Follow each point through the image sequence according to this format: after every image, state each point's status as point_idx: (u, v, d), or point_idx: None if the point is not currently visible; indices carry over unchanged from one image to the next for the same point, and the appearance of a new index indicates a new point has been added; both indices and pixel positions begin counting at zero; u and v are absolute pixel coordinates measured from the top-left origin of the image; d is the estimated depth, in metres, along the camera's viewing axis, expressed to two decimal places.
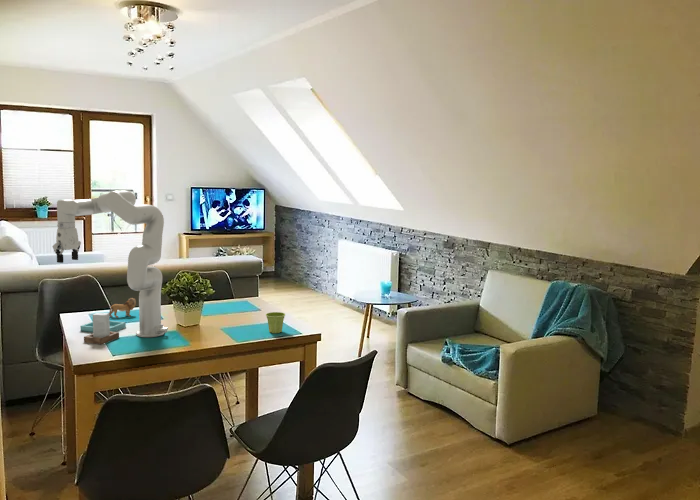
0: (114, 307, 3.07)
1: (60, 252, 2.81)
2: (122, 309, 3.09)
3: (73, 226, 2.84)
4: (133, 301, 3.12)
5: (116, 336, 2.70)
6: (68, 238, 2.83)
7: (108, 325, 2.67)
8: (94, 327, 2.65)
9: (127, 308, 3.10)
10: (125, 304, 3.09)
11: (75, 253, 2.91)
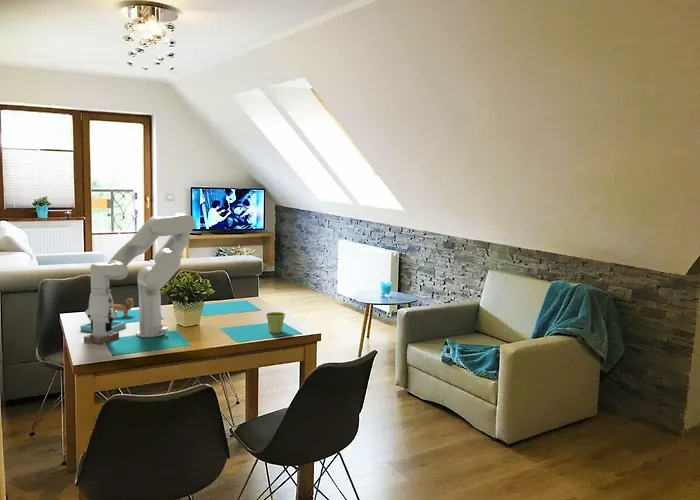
0: None
1: (112, 319, 2.66)
2: (120, 309, 3.08)
3: None
4: (131, 301, 3.11)
5: (116, 336, 2.70)
6: None
7: None
8: (94, 327, 2.65)
9: (125, 308, 3.09)
10: (123, 304, 3.09)
11: None
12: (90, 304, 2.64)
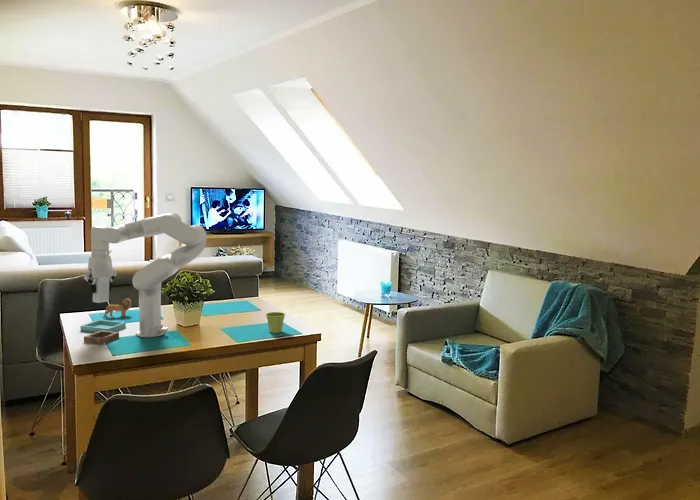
0: (110, 307, 3.06)
1: None
2: (118, 309, 3.08)
3: None
4: (129, 301, 3.11)
5: (116, 336, 2.70)
6: None
7: None
8: (100, 289, 2.73)
9: (123, 308, 3.09)
10: (121, 304, 3.08)
11: None
12: (96, 267, 2.70)
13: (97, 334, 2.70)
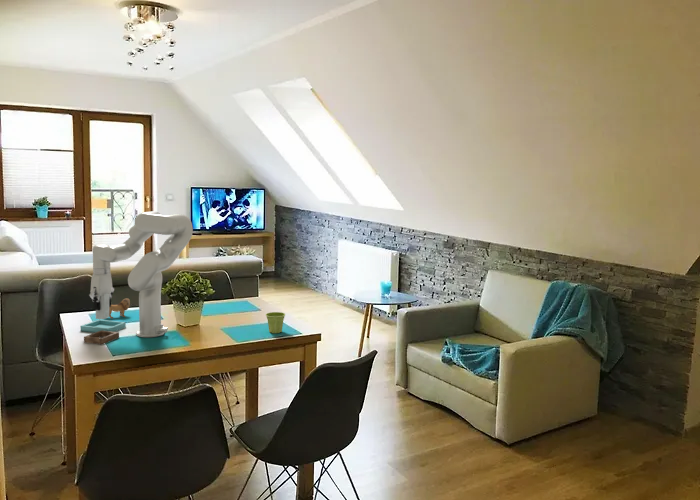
0: None
1: None
2: (116, 310, 3.07)
3: None
4: (127, 301, 3.10)
5: (116, 336, 2.70)
6: None
7: None
8: (104, 306, 2.81)
9: (121, 308, 3.08)
10: (119, 304, 3.08)
11: None
12: (100, 285, 2.78)
13: (97, 334, 2.70)
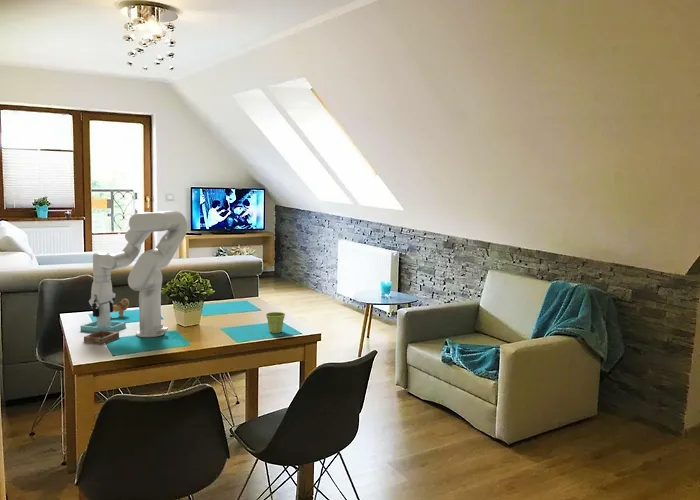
0: None
1: (108, 301, 2.89)
2: (115, 310, 3.07)
3: None
4: (126, 301, 3.10)
5: (116, 336, 2.70)
6: None
7: None
8: (105, 316, 2.82)
9: (120, 309, 3.08)
10: (118, 305, 3.08)
11: None
12: (101, 292, 2.79)
13: (97, 334, 2.70)
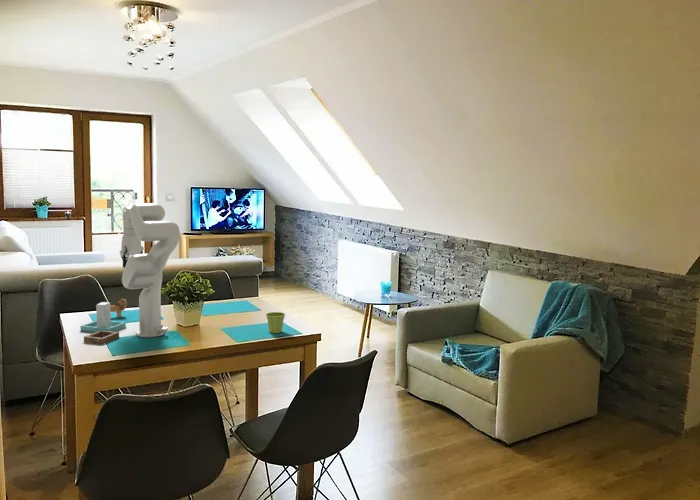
0: None
1: None
2: (113, 310, 3.06)
3: None
4: (124, 302, 3.09)
5: (116, 336, 2.70)
6: None
7: None
8: (105, 316, 2.82)
9: (118, 309, 3.07)
10: (116, 305, 3.07)
11: None
12: (131, 244, 2.90)
13: (97, 334, 2.70)
